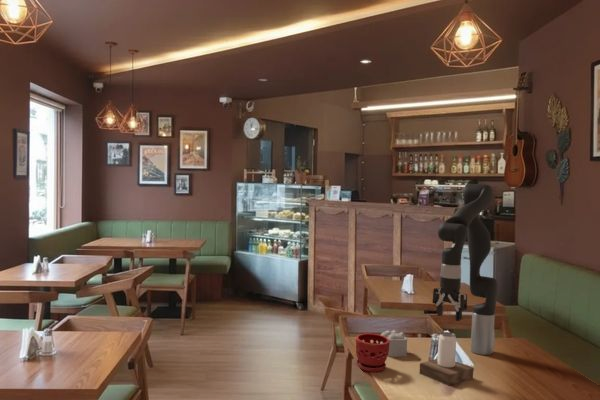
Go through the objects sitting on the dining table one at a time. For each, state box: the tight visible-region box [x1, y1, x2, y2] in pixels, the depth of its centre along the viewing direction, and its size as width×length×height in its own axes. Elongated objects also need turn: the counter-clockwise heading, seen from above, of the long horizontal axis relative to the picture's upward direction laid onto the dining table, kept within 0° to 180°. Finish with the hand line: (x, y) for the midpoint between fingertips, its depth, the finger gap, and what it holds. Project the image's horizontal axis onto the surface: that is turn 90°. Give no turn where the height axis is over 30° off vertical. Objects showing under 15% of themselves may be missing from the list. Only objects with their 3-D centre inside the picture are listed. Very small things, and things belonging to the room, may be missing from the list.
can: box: [437, 331, 457, 368], centre depth 203 cm, size 6×6×12 cm
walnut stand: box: [419, 358, 474, 386], centre depth 203 cm, size 14×14×4 cm
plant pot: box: [355, 332, 390, 373], centre depth 208 cm, size 13×13×12 cm
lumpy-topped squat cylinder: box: [380, 329, 408, 358], centre depth 230 cm, size 10×13×9 cm
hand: (448, 318), depth 202 cm, fingers open, 8 cm apart
